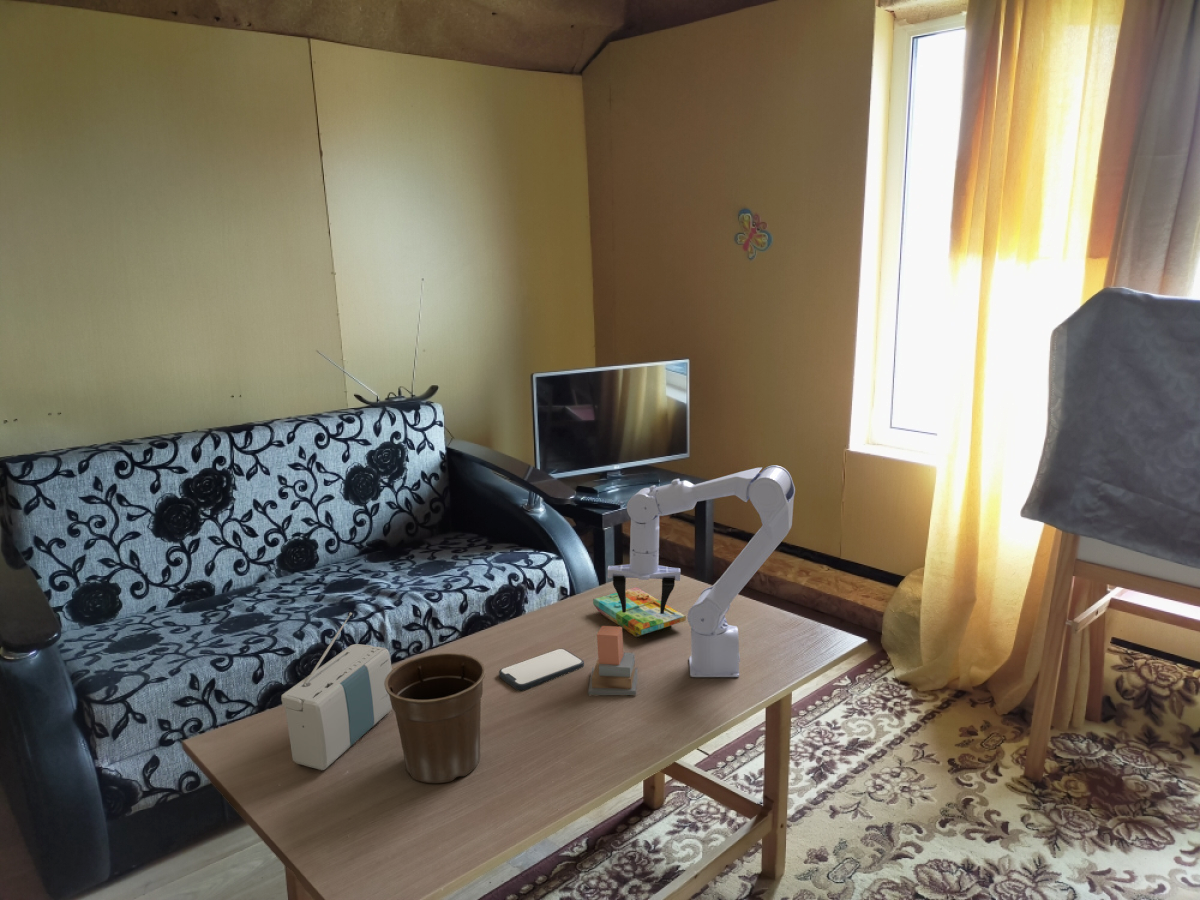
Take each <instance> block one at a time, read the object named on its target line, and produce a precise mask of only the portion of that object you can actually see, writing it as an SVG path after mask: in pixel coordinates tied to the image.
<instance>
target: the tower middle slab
mask: <svg viewBox="0 0 1200 900" xmlns="http://www.w3.org/2000/svg"><path fill="white" fill-rule="evenodd" d="M594 667H595V669H594V672H593V676H592V688H619V689H631V688H632V683H633V678H634V673H635V667H636V662H635V663H634V667H633V670H632V673H631V677H615V676H599V659H596V663H595V666H594Z"/></svg>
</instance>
